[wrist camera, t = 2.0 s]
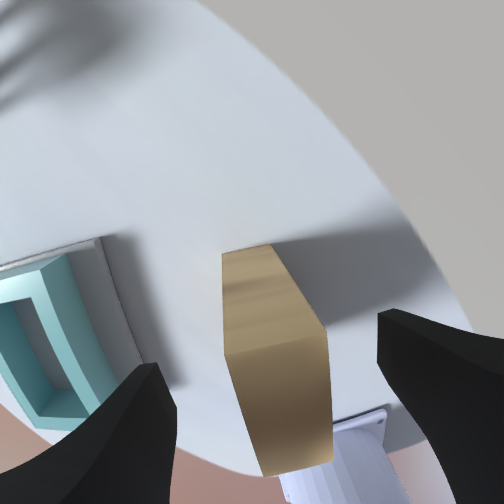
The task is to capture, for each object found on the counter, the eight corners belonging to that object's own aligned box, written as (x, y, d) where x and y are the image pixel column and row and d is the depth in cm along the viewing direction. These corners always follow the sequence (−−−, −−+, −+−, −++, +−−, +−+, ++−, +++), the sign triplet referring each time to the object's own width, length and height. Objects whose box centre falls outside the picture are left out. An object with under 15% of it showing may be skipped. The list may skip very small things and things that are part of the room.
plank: (286, 338, 15) (333, 460, 8) (243, 347, 15) (263, 477, 8) (269, 243, 14) (326, 332, 6) (221, 254, 14) (224, 355, 6)
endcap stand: (156, 392, 16) (147, 433, 12) (39, 397, 15) (20, 428, 12) (100, 237, 13) (68, 256, 10) (-19, 271, 13) (-53, 291, 10)
